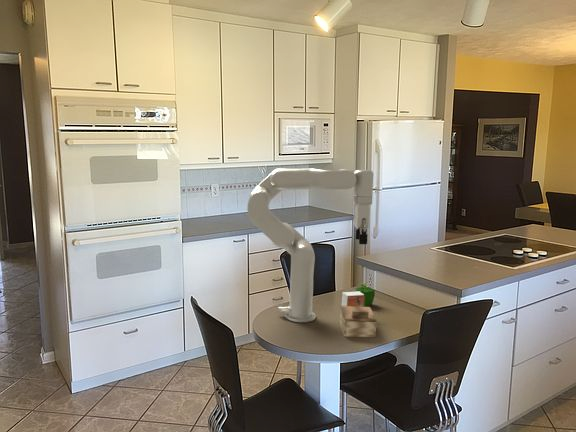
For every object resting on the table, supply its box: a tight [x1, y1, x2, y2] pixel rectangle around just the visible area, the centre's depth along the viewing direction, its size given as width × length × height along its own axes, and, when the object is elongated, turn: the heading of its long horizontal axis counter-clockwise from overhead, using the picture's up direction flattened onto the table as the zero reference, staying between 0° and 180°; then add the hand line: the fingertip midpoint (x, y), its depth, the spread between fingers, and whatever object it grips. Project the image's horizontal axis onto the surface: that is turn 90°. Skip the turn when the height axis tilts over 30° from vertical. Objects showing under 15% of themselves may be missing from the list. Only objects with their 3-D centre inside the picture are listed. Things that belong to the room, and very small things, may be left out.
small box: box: [341, 291, 365, 307], centre depth 204 cm, size 8×6×10 cm
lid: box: [340, 305, 377, 322], centre depth 190 cm, size 12×14×3 cm
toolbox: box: [339, 310, 377, 338], centre depth 190 cm, size 12×14×6 cm
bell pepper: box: [355, 282, 376, 307], centre depth 220 cm, size 8×8×10 cm
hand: (361, 241), depth 198 cm, fingers open, 9 cm apart
